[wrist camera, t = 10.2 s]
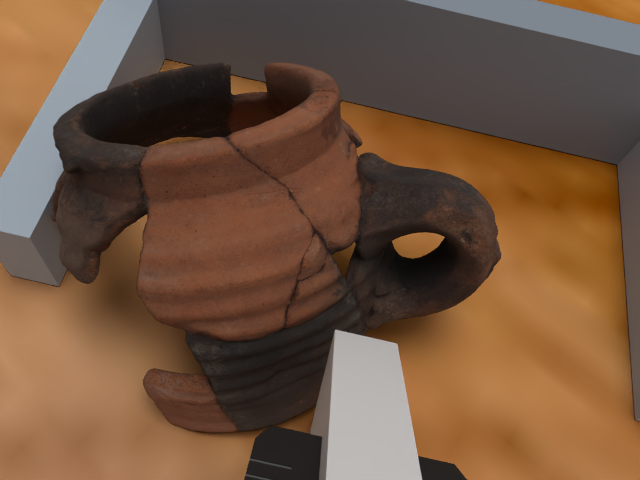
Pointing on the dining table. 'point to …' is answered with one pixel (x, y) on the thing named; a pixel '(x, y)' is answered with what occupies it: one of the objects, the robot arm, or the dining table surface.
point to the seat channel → (365, 88)
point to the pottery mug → (258, 231)
